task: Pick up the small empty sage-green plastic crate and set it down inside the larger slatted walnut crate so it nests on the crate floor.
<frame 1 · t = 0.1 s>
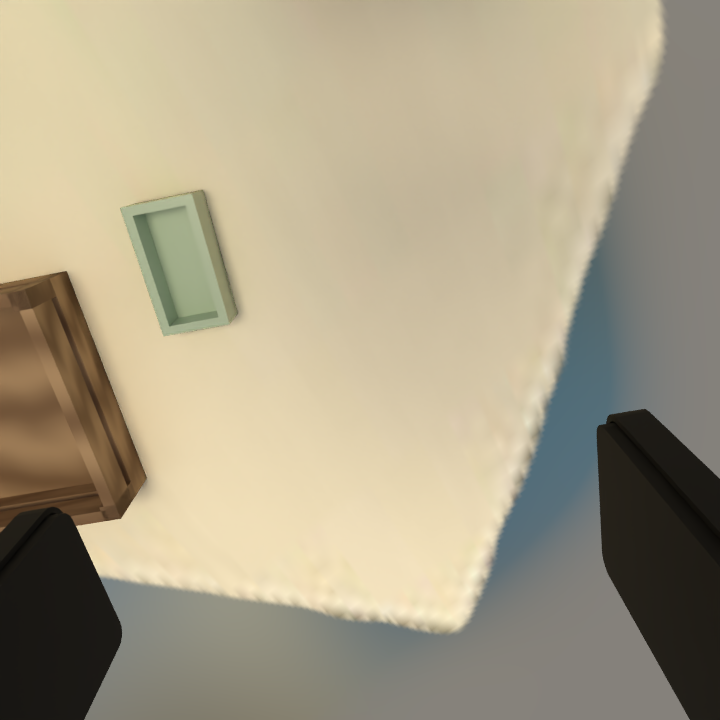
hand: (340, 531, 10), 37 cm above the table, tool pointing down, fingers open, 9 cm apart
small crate: (188, 260, 45), on the table
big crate: (13, 399, 50), on the table
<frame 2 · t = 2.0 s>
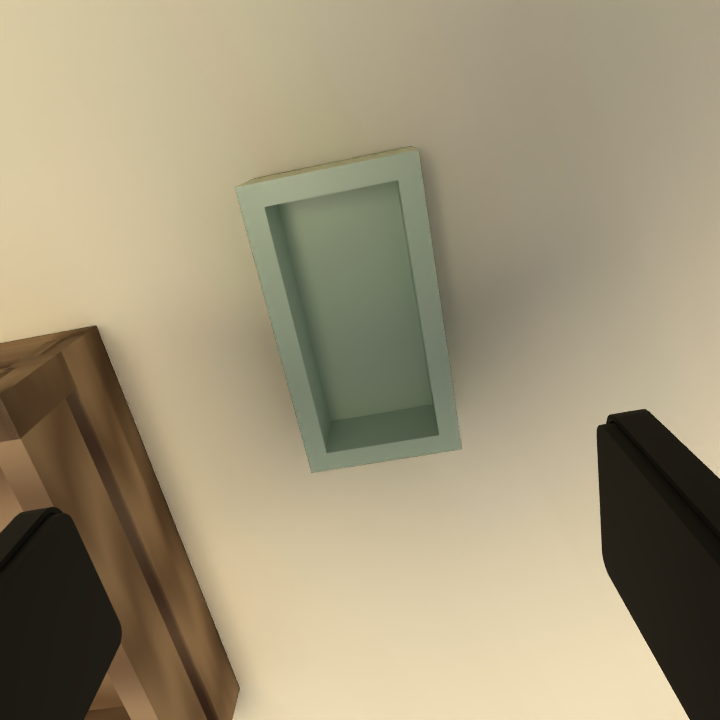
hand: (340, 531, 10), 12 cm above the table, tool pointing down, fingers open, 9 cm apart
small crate: (360, 303, 21), on the table
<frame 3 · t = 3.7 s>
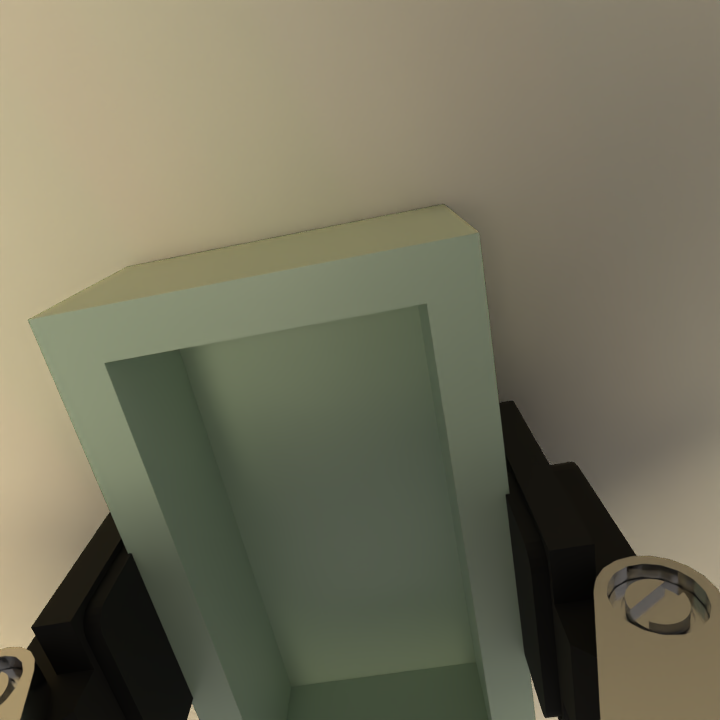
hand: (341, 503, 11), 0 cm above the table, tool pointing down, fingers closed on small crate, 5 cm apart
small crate: (342, 487, 11), on the table, touching gripper
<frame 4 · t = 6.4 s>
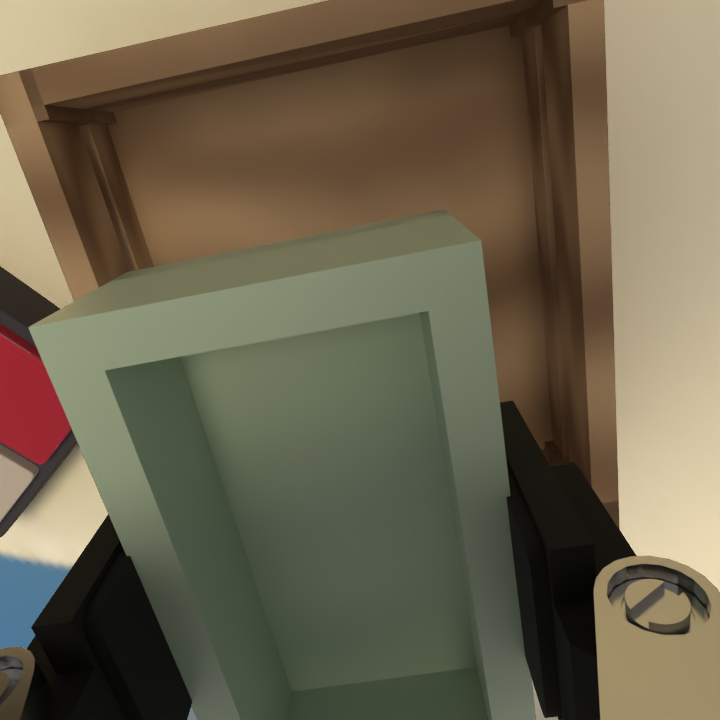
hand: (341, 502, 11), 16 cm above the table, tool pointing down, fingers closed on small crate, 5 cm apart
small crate: (343, 492, 11), point 15 cm above the table, touching gripper
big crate: (353, 293, 25), on the table
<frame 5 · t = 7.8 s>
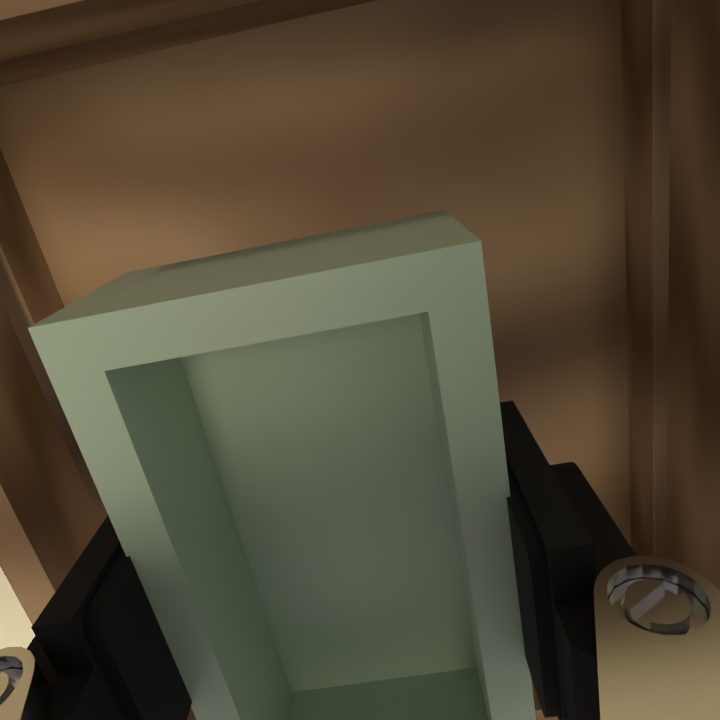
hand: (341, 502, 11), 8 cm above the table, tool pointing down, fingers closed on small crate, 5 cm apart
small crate: (343, 493, 11), point 7 cm above the table, touching gripper
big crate: (355, 348, 18), on the table
when the fingers open (3 cm above the table, at t = 9.0 s): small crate drops 2 cm, resting on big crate.
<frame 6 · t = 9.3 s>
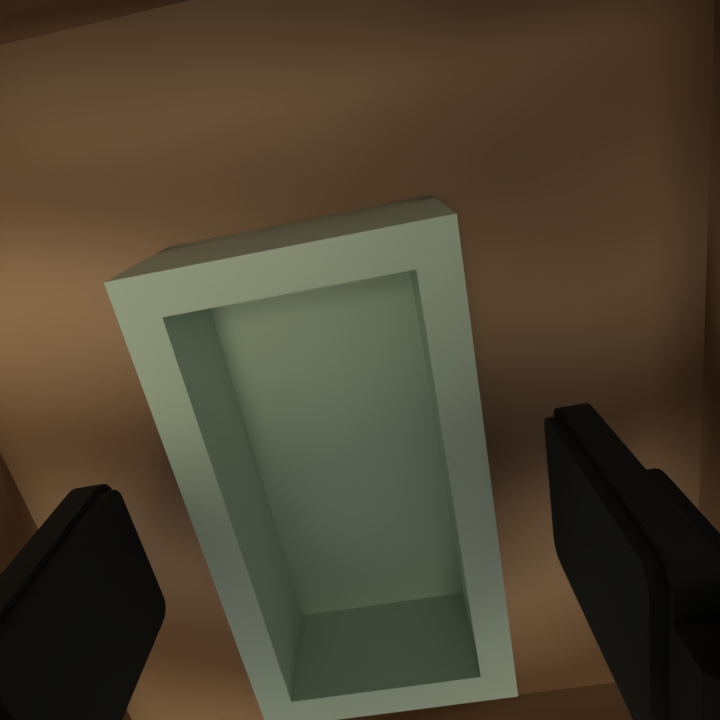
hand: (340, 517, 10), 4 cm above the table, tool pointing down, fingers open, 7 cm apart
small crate: (347, 439, 13), point 1 cm above the table, touching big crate
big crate: (346, 418, 14), on the table
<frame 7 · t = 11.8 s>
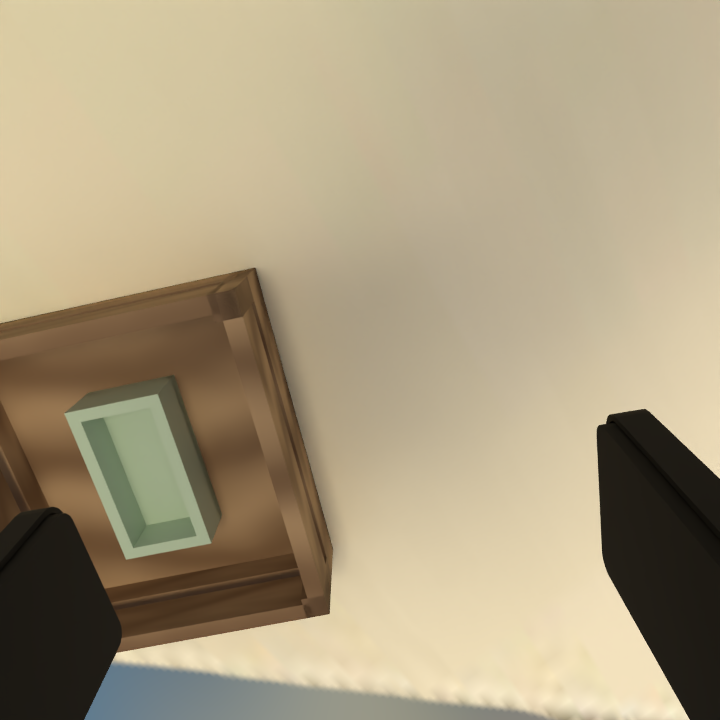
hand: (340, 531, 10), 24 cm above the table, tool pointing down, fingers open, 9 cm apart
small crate: (158, 456, 35), point 1 cm above the table, touching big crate
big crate: (162, 448, 36), on the table
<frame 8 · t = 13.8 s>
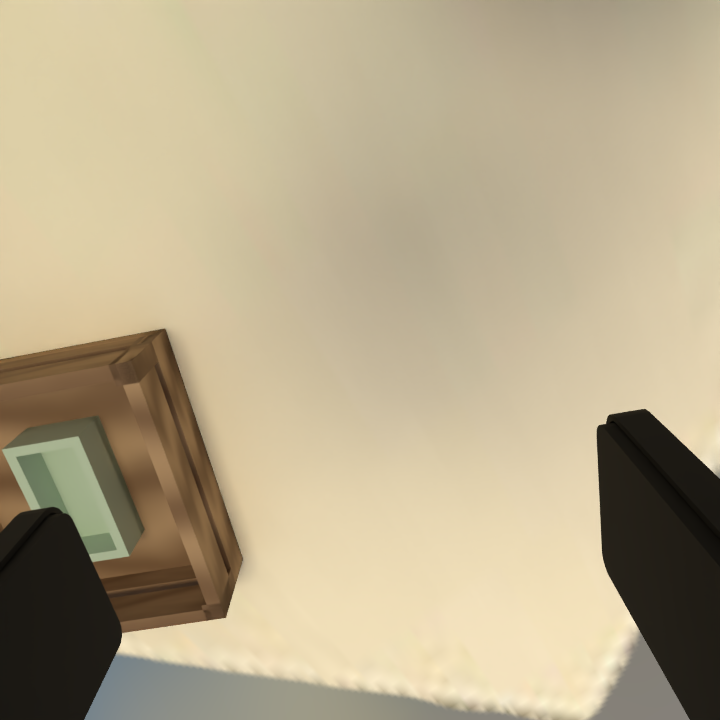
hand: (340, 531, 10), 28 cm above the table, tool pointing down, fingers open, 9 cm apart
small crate: (88, 480, 42), point 1 cm above the table, touching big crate
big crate: (93, 472, 43), on the table
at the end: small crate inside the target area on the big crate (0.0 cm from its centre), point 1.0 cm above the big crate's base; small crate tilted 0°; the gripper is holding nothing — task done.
